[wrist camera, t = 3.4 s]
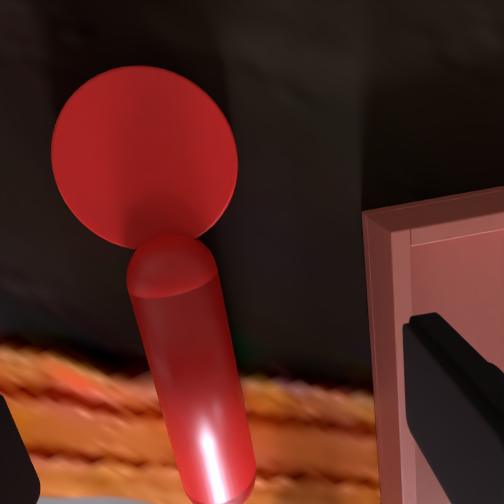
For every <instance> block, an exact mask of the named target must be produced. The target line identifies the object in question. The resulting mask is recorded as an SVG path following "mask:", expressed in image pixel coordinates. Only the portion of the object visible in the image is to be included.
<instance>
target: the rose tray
mask: <svg viewBox="0 0 504 504" xmlns="http://www.w3.org/2000/svg"><path fill="white" fill-rule="evenodd" d="M362 225H363V240H364V254H365V269H366V284H367V299H368V314H369V329H370V344H371V359H372V374H373V389H374V403H375V418H376V433H377V448H378V463H379V478H380V493H381V504H451V503H450V501H449V499H448V497H447V496H446V494H445V492H444V490H443V489H442V487H441V485H440V483H439V482H438V480H437V478H436V476H435V475H434V473H433V471H432V469H431V468H430V466H429V464H428V462H427V461H426V459H425V457H424V455H423V454H422V452H421V450H420V448H419V447H418V445H417V443H416V441H415V440H414V438H413V436H412V434H411V432H410V430H409V428H408V425H407V421H406V411H405V385H404V360H403V334H402V327H403V324H405V323H409V319H410V317H411V316H414V315H420V314H426V313H432V312H437V313H438V314H439V315H440V316H441V317H443V318H444V319H445V320H446V321H447V322H448V323H449V324H450V325H451V326H452V327H453V328H454V329H455V330H456V331H457V332H458V333H459V334H460V335H461V336H462V337H463V338H464V339H465V340H466V341H467V342H468V343H469V344H470V345H471V346H472V347H473V348H474V349H475V350H476V351H477V352H478V353H479V354H480V355H481V356H482V357H483V358H484V359H485V360H486V361H487V362H490V363H493V364H494V365H496V366H497V367H498V368H499V369H500V370H501V371H502V372H503V373H504V186H500V187H494V188H489V189H483V190H478V191H472V192H466V193H461V194H455V195H450V196H444V197H439V198H433V199H428V200H422V201H416V202H411V203H405V204H400V205H394V206H389V207H383V208H378V209H372V210H366V211H362Z"/></svg>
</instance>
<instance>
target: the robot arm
mask: <svg viewBox="0 0 504 504" xmlns="http://www.w3.org/2000/svg"><path fill="white" fill-rule="evenodd" d="M402 334H403V360H404V385H405V411H406V421H407V425H408V428H409V430H410V432H411V434H412V436H413V438H414V440H415V441H416V443H417V445H418V447H419V448H420V450H421V452H422V454H423V455H424V457H425V459H426V461H427V462H428V464H429V466H430V468H431V469H432V471H433V473H434V475H435V476H436V478H437V480H438V482H439V483H440V485H441V487H442V489H443V490H444V492H445V494H446V496H447V497H448V499H449V501H450V503H451V504H504V373H503V372H502V371H501V370H500V369H499V368H498V367H497V366H496V365H494V364H493V363H490V362H487V361H486V360H485V359H484V358H483V357H482V356H481V355H480V354H479V353H478V352H477V351H476V350H475V349H474V348H473V347H472V346H471V345H470V344H469V343H468V342H467V341H466V340H465V339H464V338H463V337H462V336H461V335H460V334H459V333H458V332H457V331H456V330H455V329H454V328H453V327H452V326H451V325H450V324H449V323H448V322H447V321H446V320H445V319H444V318H443V317H441V316H440V315H439V314H438V313H437V312H432V313H426V314H420V315H414V316H411V317H410V319H409V323H405V324H403V327H402ZM39 496H40V481H39V478H38V476H37V474H36V471H35V469H34V467H33V464H32V462H31V460H30V457H29V455H28V453H27V450H26V448H25V446H24V443H23V441H22V439H21V436H20V434H19V432H18V429H17V427H16V425H15V422H14V420H13V418H12V415H11V413H10V411H9V408H8V406H7V404H6V401H5V399H4V397H3V396H2V395H1V394H0V504H36V503H37V501H38V499H39Z"/></svg>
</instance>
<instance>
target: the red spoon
mask: <svg viewBox="0 0 504 504" xmlns="http://www.w3.org/2000/svg"><path fill="white" fill-rule="evenodd" d="M51 160H52V169H53V173H54V177H55V181H56V183H57V186H58V188H59V191H60V193H61V195H62V197H63V199H64V201H65V202H66V204H67V205H68V207H69V208H70V210H71V211H72V212H73V214H74V215H75V216H76V217H77V218H78V219H79V220H80V221H81V222H82V223H83V224H84V225H85V226H86V227H88V228H89V229H90V230H91V231H93V232H94V233H96V234H97V235H99V236H100V237H102V238H104V239H106V240H108V241H110V242H112V243H114V244H117V245H120V246H123V247H127V248H131V249H136V251H135V252H134V254H133V256H132V258H131V259H130V262H129V265H128V269H127V278H126V281H127V287H128V292H129V296H130V299H131V303H132V306H133V310H134V313H135V317H136V320H137V324H138V328H139V331H140V335H141V338H142V342H143V345H144V349H145V352H146V356H147V360H148V363H149V367H150V370H151V374H152V377H153V381H154V385H155V388H156V392H157V395H158V399H159V402H160V406H161V409H162V413H163V417H164V420H165V424H166V427H167V431H168V434H169V438H170V441H171V445H172V449H173V452H174V456H175V459H176V463H177V466H178V470H179V474H180V477H181V481H182V484H183V487H184V490H185V492H186V495H187V496H188V498H189V499H190V501H191V502H192V503H193V504H243V503H244V502H245V501H246V500H247V498H248V497H249V495H250V493H251V492H252V489H253V487H254V484H255V479H256V461H255V456H254V451H253V446H252V441H251V436H250V431H249V426H248V421H247V415H246V410H245V405H244V400H243V395H242V390H241V385H240V380H239V375H238V370H237V365H236V360H235V354H234V349H233V344H232V339H231V334H230V329H229V324H228V319H227V314H226V309H225V304H224V299H223V294H222V288H221V283H220V278H219V273H218V268H217V265H216V262H215V259H214V257H213V255H212V254H211V252H210V250H209V249H208V248H207V247H206V246H205V245H204V244H203V243H202V242H200V241H199V240H198V239H196V238H198V237H199V236H201V235H202V234H204V233H205V232H206V231H208V230H209V229H210V228H211V227H212V226H213V225H214V224H215V223H216V222H217V220H218V219H219V218H220V217H221V216H222V214H223V213H224V211H225V209H226V208H227V206H228V204H229V202H230V200H231V198H232V195H233V192H234V189H235V185H236V180H237V174H238V156H237V148H236V143H235V139H234V136H233V133H232V130H231V127H230V125H229V123H228V121H227V119H226V117H225V115H224V114H223V112H222V111H221V109H220V108H219V107H218V105H217V104H216V103H215V101H214V100H213V99H212V98H211V97H210V96H209V95H208V94H207V93H206V92H205V91H204V90H203V89H201V88H200V87H199V86H198V85H196V84H195V83H193V82H192V81H190V80H189V79H187V78H185V77H183V76H181V75H179V74H177V73H175V72H172V71H169V70H166V69H163V68H158V67H152V66H141V65H134V66H123V67H119V68H115V69H111V70H108V71H106V72H103V73H101V74H98V75H97V76H95V77H93V78H91V79H90V80H88V81H87V82H86V83H84V84H83V85H82V86H81V87H79V88H78V89H77V90H76V91H75V92H74V93H73V94H72V96H71V97H70V98H69V99H68V101H67V102H66V104H65V105H64V107H63V108H62V110H61V112H60V114H59V116H58V118H57V121H56V124H55V127H54V131H53V136H52V142H51Z"/></svg>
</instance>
